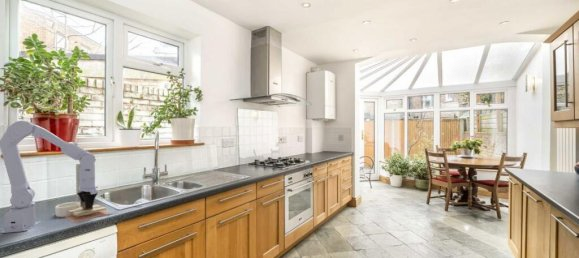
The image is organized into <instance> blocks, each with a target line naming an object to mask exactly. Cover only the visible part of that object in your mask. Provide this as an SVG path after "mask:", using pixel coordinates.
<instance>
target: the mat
mask: <svg viewBox="0 0 579 258" xmlns="http://www.w3.org/2000/svg"><path fill="white" fill-rule="evenodd" d="M109 214H111V212H110V211H108V210H103V211H99V212H95V213H90V214H86V215H82V216H76V215H69V216H63V218H66V219H68V220H69V221H72V222H73V223H78V222H83V221H86V220H91V219H94V218H98V217H103V216H105V215H109Z"/></svg>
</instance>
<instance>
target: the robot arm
mask: <svg viewBox="0 0 579 258" xmlns="http://www.w3.org/2000/svg"><path fill="white" fill-rule="evenodd" d="M30 135H31V137H33V138H34V137H35V138H42V139H44V140H45V141H47V142H49V143H50V144H53V145H54V146H56V147H57V148H60V152H61V153H62V154H64V155H66V156H67V157H69V158H71V159H73V160H75V161H78V162H79V164H80V169H79V184H80V186H79V191H81V192H79V193H77V194H78V195H79V197H80V199H81V202H80V203H82V202H85V206H86V209H88V208H92V206H93V205H94V202H95V201H94V199H95V200H96V197H97V196H98V192H97V189H98V187H99V186H98V185H96V164H94V163H95V162H96V160H97V159H96V156H95V155H94V154H93V153H92V152H90V151H89V150H88V149H85V148H83V147H81V146H80V145H79V144H78V143H77V142H73V141H69V142H66V141H65V140H63V139H62V138H60V137H58V136H57V135H55V134H54V133H52V132H51V131H49V130H47V129H46V128H43V127H42V126H39V125H37V124H33V122H31V121H27V120H18V121H17V120H16V121H15V122H14V123H12V124H10V125H9V126H8V127H7V128H6V130H5V132H4V134H3V135H2V137H1V138H0V152H1V155H2V158H3V161H4V162H3V163H4V165H5V169H6V173H7V177H8V180H9V184H10V194H11V197H10V198H9V199H10V200H9V202H10V206H9V211H8V212H6V213H5V214H4V216H3V230H2V231H1V232H0V233H1V234H7V233H8V234H9V233H17V232H26V231H28V230H30V229H31V228H34V227H35V226H37V225H39V224H40V223H42V221H36V218H37V217H36V202H35V201H34V200H33V199H34V198H35V194H36V193H35V191H34V190H33V189H32V188H31V187H30V183H29V182H28V179H27V176H26V171H25V168H24V165H23V164H24V163H23V161H22V157H21V154H20V153H21V152H20V150H19V146H18V145H19V144H20V143H21V142H22V141H23V140H24V139H25V138H26V137H28V136H30ZM94 166H95V168H94Z"/></svg>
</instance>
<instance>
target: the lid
mask: <svg viewBox="0 0 579 258" xmlns="http://www.w3.org/2000/svg"><path fill="white" fill-rule="evenodd" d="M81 205H82V206H81V208H77V209H72V210H68V212H69V213H71V214H74V215H76V216H82V215H86V214H90V213H95V212H99V211H103V210H105V211H107V207H104V206H102V205H100V204H96V203H95V204H93V206H92V208H88V209H86V206H85V202H81Z"/></svg>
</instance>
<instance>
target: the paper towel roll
mask: <svg viewBox="0 0 579 258" xmlns="http://www.w3.org/2000/svg"><path fill="white" fill-rule="evenodd" d="M94 164H95V163H94ZM94 168H95V169H96V164H95V166H94ZM79 169H80V163H76V164H75V178H76V179H75V180H76V184H75V186H76V187H75V188H76V189H75V190H76V192H75V193H76V194H75V195H76V202H80V203H82V202H81V199H80V197H79V195H78V194H77V193H79V192H81V191H79V186H80V184H79ZM94 202H96V198H95V199H94Z"/></svg>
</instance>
